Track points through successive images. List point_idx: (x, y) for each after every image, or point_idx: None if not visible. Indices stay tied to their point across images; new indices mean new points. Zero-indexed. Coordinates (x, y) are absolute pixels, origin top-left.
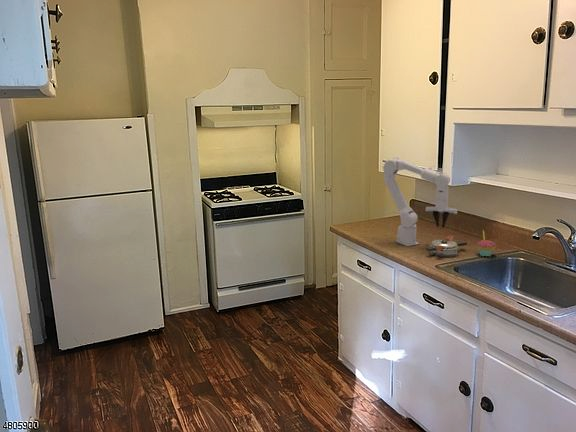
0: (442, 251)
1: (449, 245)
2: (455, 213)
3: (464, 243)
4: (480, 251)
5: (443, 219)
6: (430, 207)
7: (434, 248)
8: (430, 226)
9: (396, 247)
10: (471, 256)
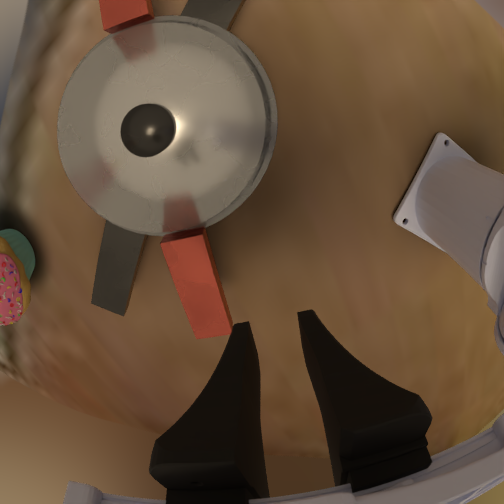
0: None
1: (85, 94)
2: (74, 485)
3: (95, 282)
4: (5, 235)
5: (227, 391)
6: (485, 487)
7: (186, 7)
8: None
9: (470, 83)
10: (35, 187)
